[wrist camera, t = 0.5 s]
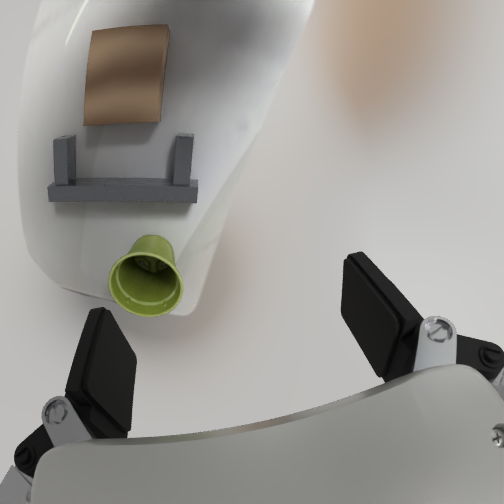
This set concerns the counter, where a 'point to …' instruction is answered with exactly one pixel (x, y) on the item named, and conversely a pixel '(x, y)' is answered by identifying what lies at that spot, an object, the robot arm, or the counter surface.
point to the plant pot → (147, 278)
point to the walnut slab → (126, 75)
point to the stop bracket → (122, 179)
